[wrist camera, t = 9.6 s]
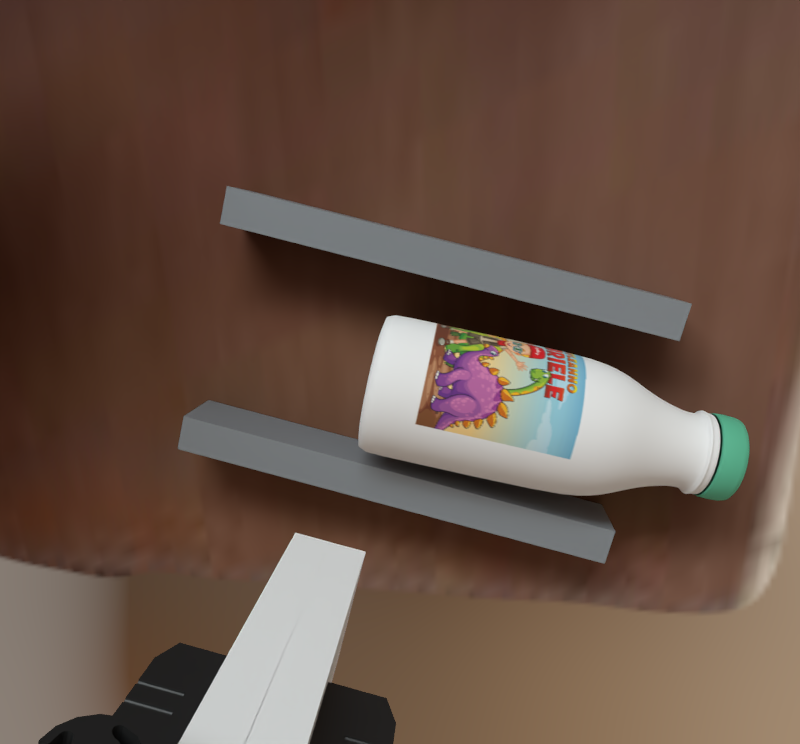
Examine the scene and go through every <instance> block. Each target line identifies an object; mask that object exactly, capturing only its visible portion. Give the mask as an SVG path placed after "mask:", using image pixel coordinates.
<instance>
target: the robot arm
mask: <svg viewBox="0 0 800 744" xmlns="http://www.w3.org/2000/svg"><path fill="white" fill-rule="evenodd" d="M365 553H366V552H365V551H361V550H357V549H354V548H350V547H346V546H343V545H339V544H335V543H332V542H328V541H324V540H321V539H317V538H313V537H310V536H306V535H302V534H299V533H295V534H294V536H293V538H292V540H291V541H290V543H289V545H288V547H287V549H286V550H285V552H284V554H283V556H282V558H281V559H280V561H279V563H278V565H277V567H276V568H275V570H274V572H273V574H272V576H271V577H270V579H269V581H268V583H267V585H266V586H265V588H264V590H263V592H262V594H261V595H260V597H259V599H258V601H257V603H256V604H255V606H254V608H253V610H252V612H251V614H250V615H249V617H248V619H247V621H246V623H245V624H244V626H243V628H242V630H241V632H240V633H239V635H238V637H237V639H236V640H235V642H234V644H233V646H232V648H231V649H230V651H229V653H228V655H227V656H225V655H222V654H218V653H214V652H211V651H208V650H204V649H200V648H196V647H193V646H189V645H186V644H183V643H179V644H177V645H175V646H174V647H172V648H170V649H169V650H167V651H165V652H164V653H162V654H160V655H159V656H157V657H155V658H154V659H153V661H152V662H151V664H150V665H149V666H148V668H147V669H146V671H145V672H144V673H143V675H142V676H141V677H140V679H139V681H138V684H135V686H134V687H133V688H132V690H131V691H130V692H129V694H128V695H127V697H126V699H125V701H124V702H122V704H121V705H120V706H119V708H118V709H117V710H116V712H115V713H114V715H113V716H110V715H103V714H97V715H90V716H83V717H77V718H74V719H72V720H69V721H67V722H65V723H62V724H60V725H57V726H55V727H54V728H53V729H52V730H51V731H49V732H48V733H47V734H46V735H45V736H44V737H42V738H41V739H40V740H39V744H393V741H394V733H395V726H396V722H395V720H394V717H393V714H392V712H391V709H390V706H389V704H388V701H387V698H384V697H380V696H377V695H373V694H370V693H366V692H362V691H359V690H355V689H352V688H348V687H345V686H341V685H337V684H334V683H331V682H332V679H333V675H334V672H335V669H336V665H337V661H338V657H339V653H340V649H341V645H342V642H343V638H344V634H345V630H346V626H347V622H348V619H349V615H350V611H351V607H352V603H353V599H354V595H355V591H356V588H357V584H358V580H359V576H360V572H361V568H362V564H363V561H364V557H365Z"/></svg>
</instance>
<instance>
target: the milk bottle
mask: <svg viewBox="0 0 800 744" xmlns="http://www.w3.org/2000/svg"><path fill="white" fill-rule="evenodd" d="M358 446H359V447H360V448H361V449H363V450H364V451H365V452H369V453H373V454H377V455H380V456H384V457H389V458H393V459H398V460H402V461H407V462H411V463H415V464H420V465H424V466H429V467H433V468H438V469H442V470H447V471H451V472H456V473H461V474H465V475H470V476H474V477H479V478H483V479H488V480H493V481H497V482H502V483H507V484H512V485H516V486H521V487H526V488H530V489H536V490H541V491H547V492H553V493H558V494H566V495H576V496H591V495H601V494H607V493H613V492H617V491H622V490H627V489H632V488H638V487H646V486H673V487H678V488H679V489H680V491H681V492H683V493H684V494H694V495H696V496H698V497H702V498H706V499H711V500H717V501H718V500H726V499H728V498H730V497H731V496H732V495H733V494H734V493H735V492H736V491H737V489H738V488H739V486H740V484H741V482H742V480H743V478H744V475H745V472H746V469H747V465H748V459H749V437H748V433H747V430H746V428H745V426H744V424H743V423H742V422H741V421H740V420H738V419H736V418H733V417H730V416H726V415H721V414H715V413H713V414H709V413H707V412H705V411H702V410H701V411H697V412H695V413H690V412H687V411H684V410H681V409H679V408H677V407H675V406H673V405H671V404H669V403H667V402H666V401H664V400H662V399H660V398H659V397H657V396H656V395H654V394H653V393H651V392H650V391H649V390H647V389H646V388H644V387H643V386H642V385H640V384H639V383H638V382H636V381H635V380H634V379H632V378H631V377H629V376H628V375H626V374H625V373H623V372H621V371H619V370H618V369H616V368H613V367H611V366H609V365H607V364H604V363H602V362H599V361H596V360H593V359H590V358H586V357H582V356H579V355H575V354H571V353H567V352H563V351H559V350H555V349H551V348H546V347H542V346H537V345H533V344H528V343H524V342H520V341H515V340H511V339H506V338H502V337H497V336H493V335H488V334H483V333H479V332H474V331H470V330H465V329H461V328H456V327H451V326H447V325H442V324H437V323H433V322H428V321H423V320H419V319H414V318H409V317H403V316H398V315H394V316H388V317H387V318H386V320H385V322H384V325H383V327H382V330H381V332H380V335H379V338H378V342H377V345H376V349H375V353H374V356H373V360H372V365H371V368H370V373H369V377H368V382H367V386H366V391H365V396H364V400H363V407H362V413H361V418H360V425H359V438H358Z"/></svg>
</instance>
